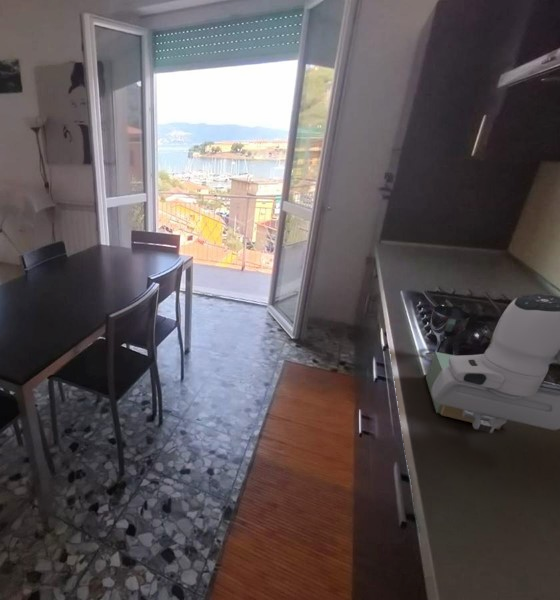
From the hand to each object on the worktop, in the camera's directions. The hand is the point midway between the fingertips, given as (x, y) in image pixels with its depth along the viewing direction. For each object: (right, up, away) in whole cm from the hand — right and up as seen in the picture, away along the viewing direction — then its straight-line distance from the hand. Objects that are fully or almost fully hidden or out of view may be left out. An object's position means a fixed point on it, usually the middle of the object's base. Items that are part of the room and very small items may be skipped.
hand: (481, 429), depth 74 cm
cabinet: (+6, +2, +13) cm, 14 cm away
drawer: (+4, +1, +9) cm, 10 cm away
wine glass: (+13, +10, +30) cm, 34 cm away
